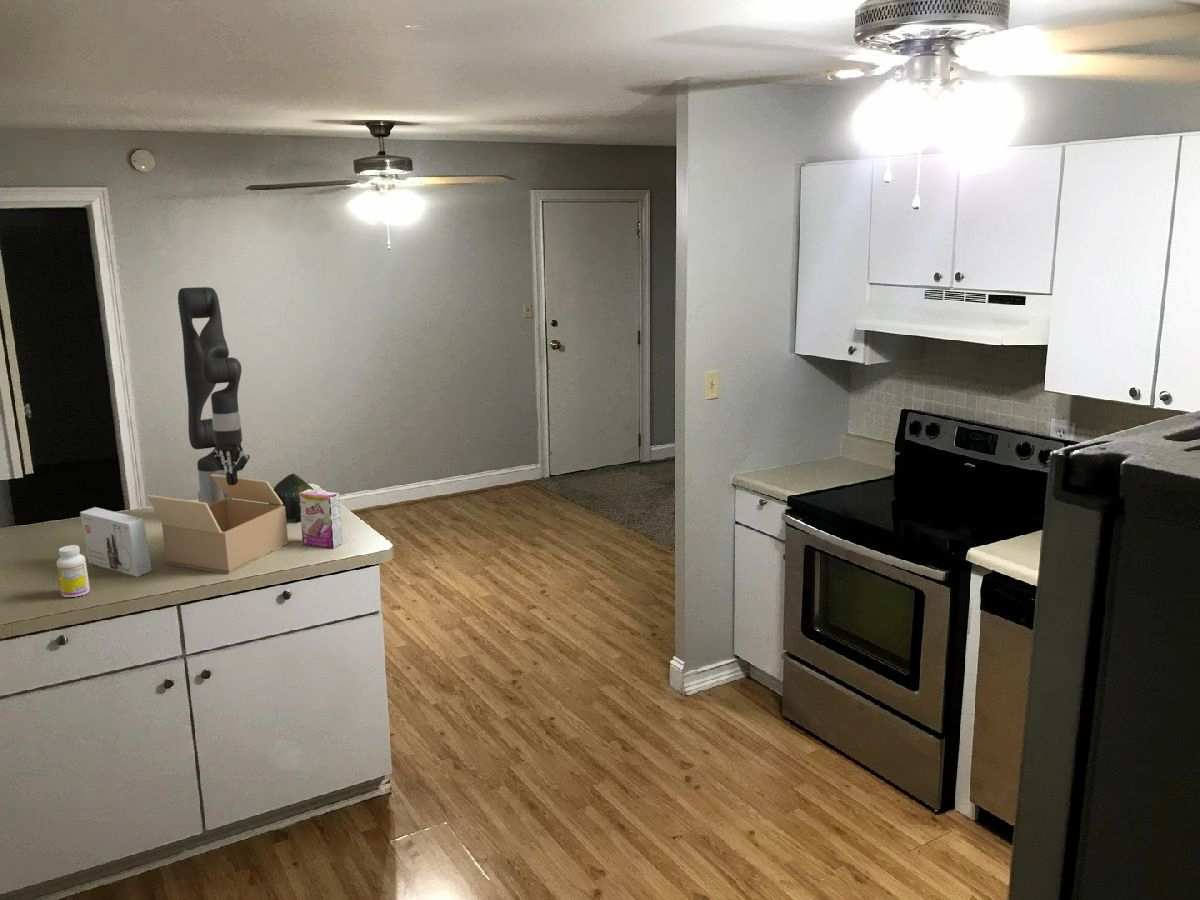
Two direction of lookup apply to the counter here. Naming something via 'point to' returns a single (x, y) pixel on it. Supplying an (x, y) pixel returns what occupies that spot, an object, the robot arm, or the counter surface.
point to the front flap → (184, 513)
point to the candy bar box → (320, 518)
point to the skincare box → (116, 541)
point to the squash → (291, 494)
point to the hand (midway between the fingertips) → (232, 484)
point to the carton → (228, 537)
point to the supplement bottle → (72, 572)
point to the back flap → (248, 490)
